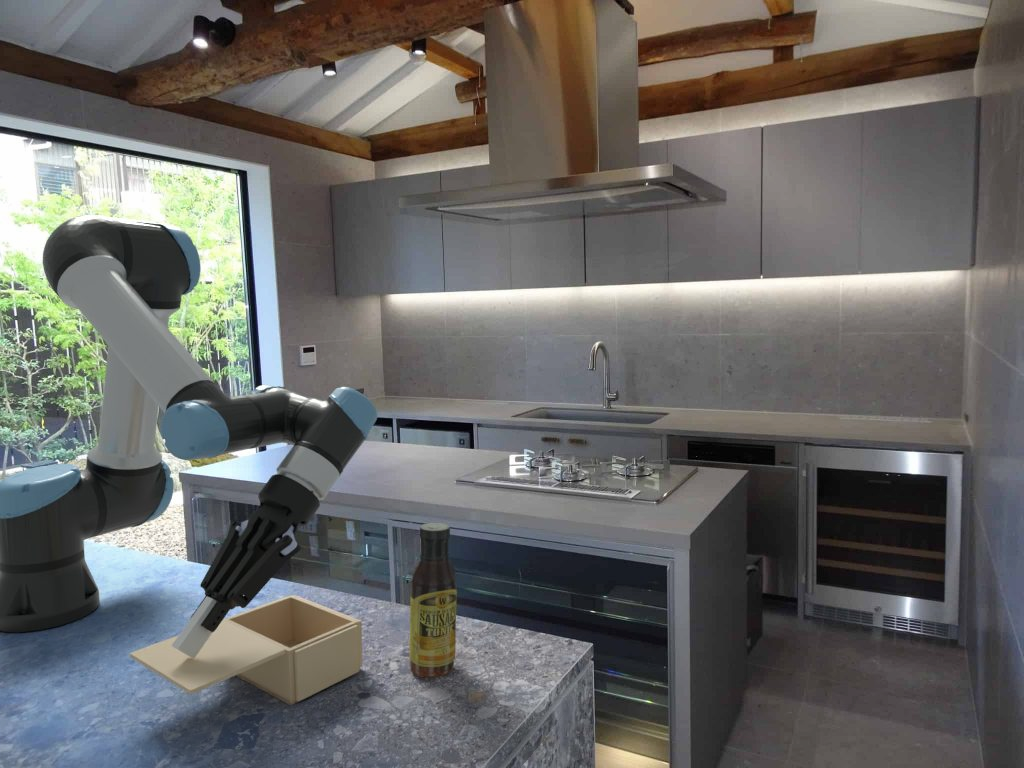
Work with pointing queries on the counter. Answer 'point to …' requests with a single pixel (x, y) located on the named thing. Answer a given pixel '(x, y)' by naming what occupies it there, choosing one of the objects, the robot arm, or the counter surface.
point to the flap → (208, 658)
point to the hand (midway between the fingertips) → (182, 652)
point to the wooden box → (301, 647)
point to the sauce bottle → (433, 605)
